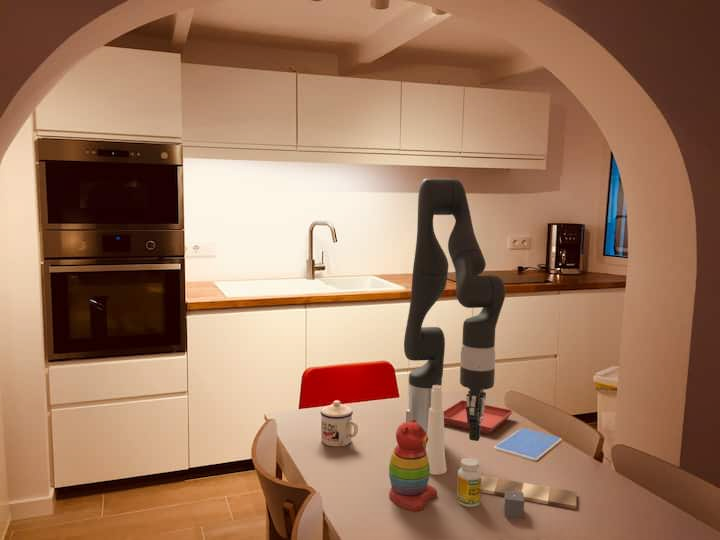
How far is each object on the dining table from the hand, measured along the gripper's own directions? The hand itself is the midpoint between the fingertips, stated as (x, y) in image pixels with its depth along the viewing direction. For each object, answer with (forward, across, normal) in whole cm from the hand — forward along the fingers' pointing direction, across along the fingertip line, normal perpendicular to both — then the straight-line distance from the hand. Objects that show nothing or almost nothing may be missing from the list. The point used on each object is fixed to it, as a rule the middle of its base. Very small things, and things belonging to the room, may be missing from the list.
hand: (474, 439), depth 132 cm
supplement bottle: (+15, -1, +1) cm, 15 cm away
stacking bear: (+15, -3, +14) cm, 21 cm away
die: (+15, -2, -9) cm, 18 cm away
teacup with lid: (+15, +20, +40) cm, 48 cm away
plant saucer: (+16, +50, +7) cm, 53 cm away
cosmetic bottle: (+15, +12, +12) cm, 23 cm away
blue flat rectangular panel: (+16, +38, -10) cm, 42 cm away
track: (+15, +8, -10) cm, 20 cm away
